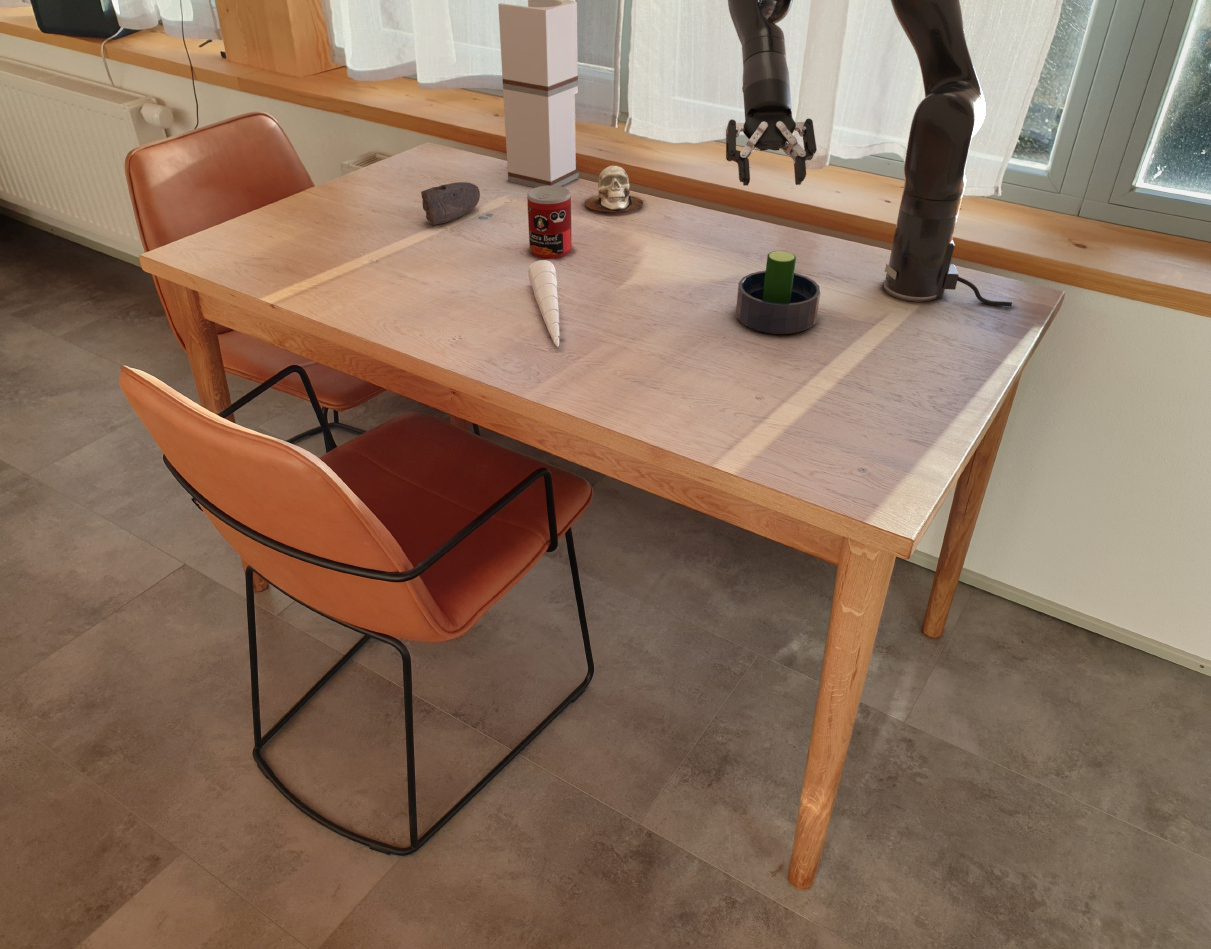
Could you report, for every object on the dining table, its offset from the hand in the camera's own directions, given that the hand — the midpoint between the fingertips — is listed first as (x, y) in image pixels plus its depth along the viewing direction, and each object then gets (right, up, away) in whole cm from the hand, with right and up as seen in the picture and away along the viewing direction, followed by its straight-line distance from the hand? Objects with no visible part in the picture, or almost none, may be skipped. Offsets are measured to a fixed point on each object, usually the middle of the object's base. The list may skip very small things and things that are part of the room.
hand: (773, 183), depth 150 cm
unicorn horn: (-36, -21, +3) cm, 41 cm away
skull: (-25, +8, +42) cm, 50 cm away
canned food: (-37, -6, +23) cm, 44 cm away
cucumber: (0, -21, +1) cm, 21 cm away
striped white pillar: (-40, +18, +55) cm, 71 cm away
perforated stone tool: (-57, +4, +36) cm, 68 cm away
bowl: (+1, -22, +1) cm, 22 cm away
